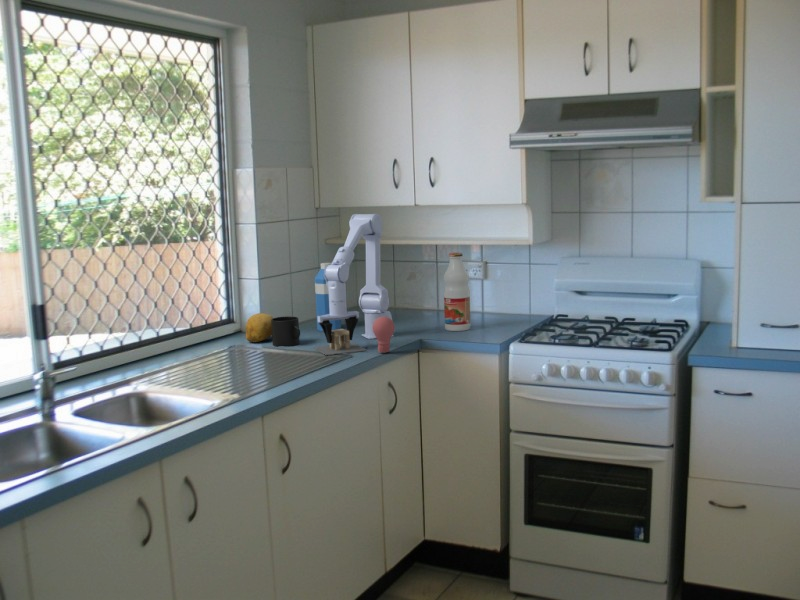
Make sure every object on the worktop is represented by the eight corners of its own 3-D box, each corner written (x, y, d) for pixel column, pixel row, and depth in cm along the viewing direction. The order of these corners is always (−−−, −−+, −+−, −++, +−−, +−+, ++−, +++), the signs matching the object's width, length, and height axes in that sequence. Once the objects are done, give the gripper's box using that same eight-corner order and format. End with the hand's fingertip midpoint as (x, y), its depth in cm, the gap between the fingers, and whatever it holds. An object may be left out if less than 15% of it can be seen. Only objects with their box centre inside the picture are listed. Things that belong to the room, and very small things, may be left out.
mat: (353, 343, 293) (353, 342, 293) (366, 351, 280) (366, 349, 280) (314, 348, 288) (313, 347, 288) (325, 355, 275) (325, 354, 275)
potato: (239, 343, 301) (237, 315, 300) (259, 336, 312) (257, 310, 311) (263, 345, 297) (261, 316, 295) (283, 338, 308) (281, 311, 307)
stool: (343, 346, 288) (342, 328, 287) (350, 348, 283) (349, 330, 282) (329, 348, 285) (328, 330, 284) (336, 350, 281) (335, 332, 280)
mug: (290, 348, 289) (288, 322, 287) (266, 345, 296) (265, 319, 295) (310, 343, 296) (309, 318, 294) (287, 340, 304) (285, 315, 302)
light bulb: (396, 354, 273) (394, 318, 271) (374, 356, 272) (372, 319, 271) (394, 350, 280) (393, 314, 278) (373, 351, 279) (371, 315, 278)
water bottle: (344, 326, 327) (341, 261, 323) (338, 331, 318) (334, 264, 314) (320, 326, 328) (317, 262, 325) (313, 331, 319) (310, 265, 316)
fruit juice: (475, 329, 312) (474, 252, 307) (456, 332, 306) (453, 255, 302) (459, 325, 319) (457, 251, 315) (439, 329, 314) (437, 253, 310)
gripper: (351, 297, 289) (353, 336, 291) (312, 301, 281) (314, 342, 283) (361, 299, 283) (363, 339, 285) (322, 304, 275) (324, 345, 277)
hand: (339, 341), depth 284 cm, fingers open, 7 cm apart
